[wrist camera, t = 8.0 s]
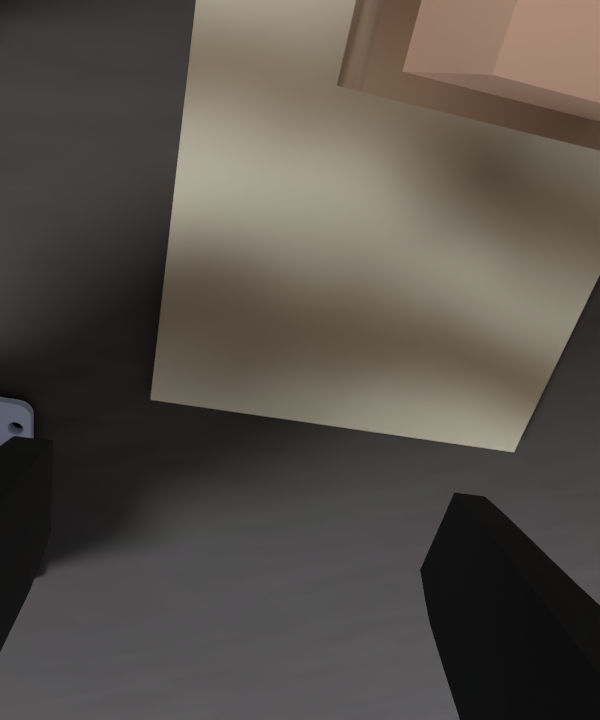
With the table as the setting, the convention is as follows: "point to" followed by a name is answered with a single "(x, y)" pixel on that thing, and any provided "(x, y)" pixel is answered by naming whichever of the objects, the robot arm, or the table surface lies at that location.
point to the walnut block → (385, 79)
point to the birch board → (362, 243)
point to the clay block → (513, 50)
